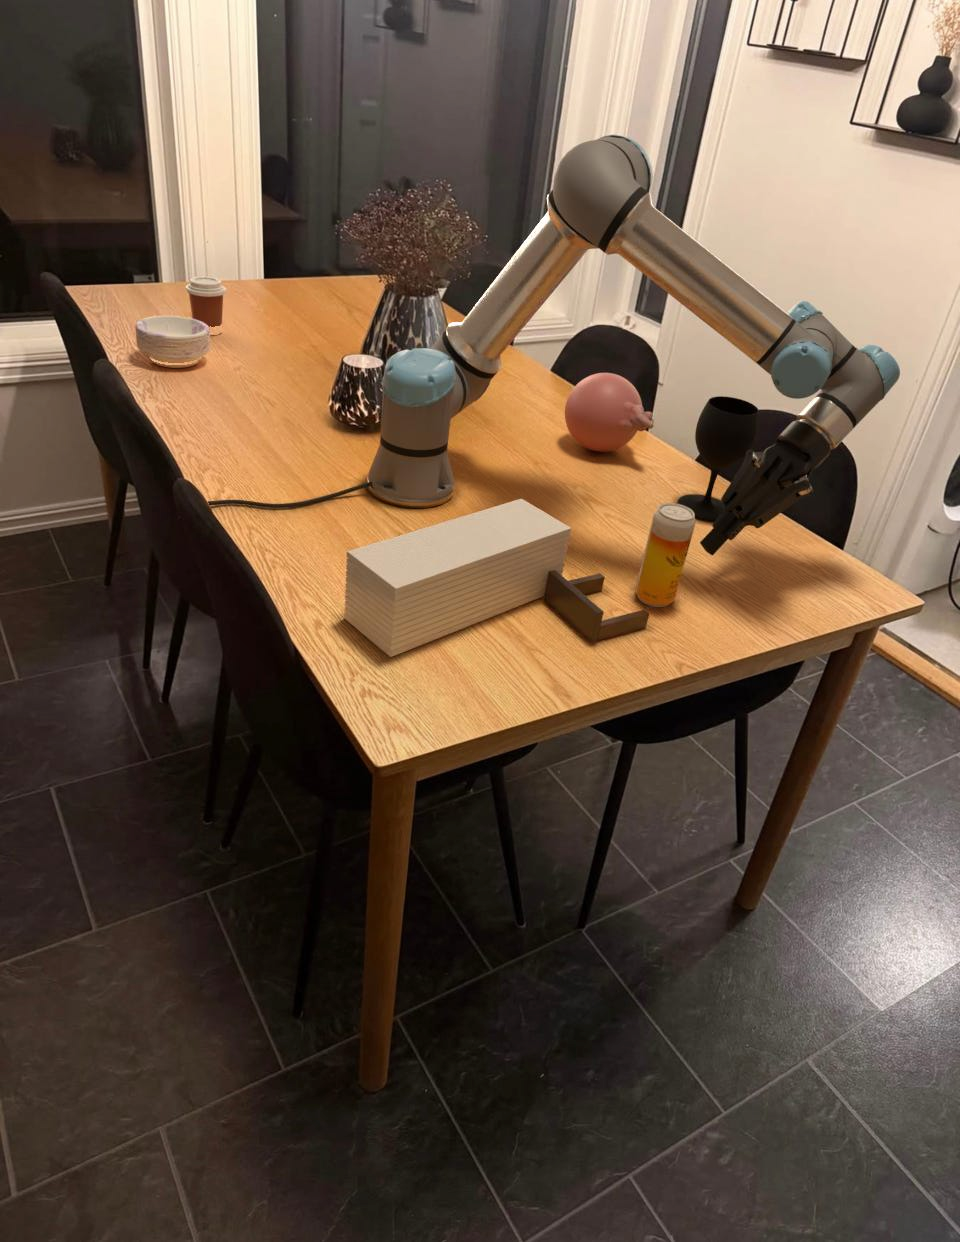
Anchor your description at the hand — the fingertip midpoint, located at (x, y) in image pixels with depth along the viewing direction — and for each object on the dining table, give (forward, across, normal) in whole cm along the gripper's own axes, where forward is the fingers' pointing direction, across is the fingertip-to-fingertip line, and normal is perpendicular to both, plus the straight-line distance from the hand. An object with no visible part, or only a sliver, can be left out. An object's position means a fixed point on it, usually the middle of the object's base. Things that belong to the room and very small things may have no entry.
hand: (706, 549), depth 142 cm
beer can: (+11, 0, +1) cm, 11 cm away
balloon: (-8, +48, -18) cm, 52 cm away
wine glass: (-10, +21, -20) cm, 31 cm away
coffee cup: (+29, +136, +20) cm, 140 cm away
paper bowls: (+39, +117, +29) cm, 127 cm away
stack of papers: (+32, +10, +22) cm, 40 cm away
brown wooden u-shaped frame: (+19, 0, +9) cm, 21 cm away
